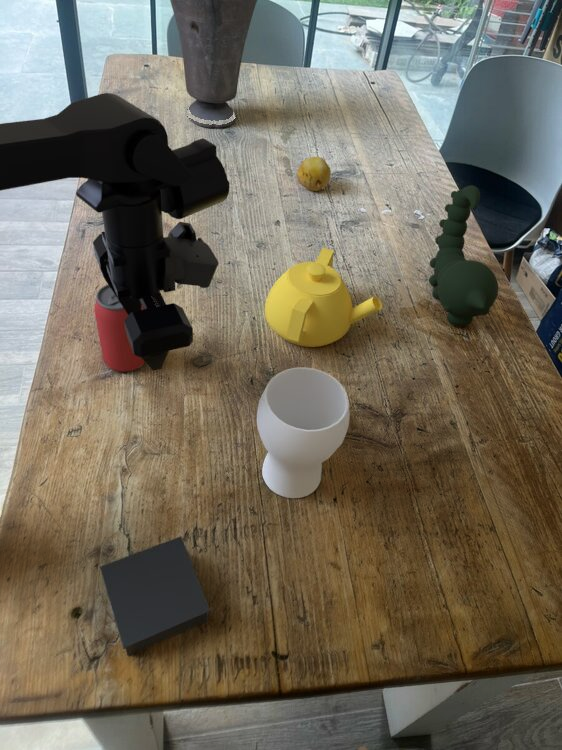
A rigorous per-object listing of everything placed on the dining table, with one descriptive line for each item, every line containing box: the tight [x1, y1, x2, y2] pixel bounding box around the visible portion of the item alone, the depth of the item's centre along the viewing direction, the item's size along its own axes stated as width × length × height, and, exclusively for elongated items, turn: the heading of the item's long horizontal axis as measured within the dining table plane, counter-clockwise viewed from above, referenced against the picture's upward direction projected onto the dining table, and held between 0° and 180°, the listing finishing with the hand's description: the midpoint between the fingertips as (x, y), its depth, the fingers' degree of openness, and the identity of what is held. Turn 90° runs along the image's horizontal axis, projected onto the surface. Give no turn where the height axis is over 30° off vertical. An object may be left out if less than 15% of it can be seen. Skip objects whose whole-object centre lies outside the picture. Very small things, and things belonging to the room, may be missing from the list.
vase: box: [169, 0, 258, 129], centre depth 134 cm, size 22×22×30 cm
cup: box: [256, 366, 351, 499], centre depth 70 cm, size 11×11×15 cm
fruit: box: [296, 156, 332, 192], centre depth 124 cm, size 7×7×10 cm
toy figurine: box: [428, 185, 499, 328], centre depth 97 cm, size 9×19×25 cm
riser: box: [99, 535, 211, 657], centre depth 62 cm, size 9×9×3 cm
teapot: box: [264, 247, 383, 348], centre depth 92 cm, size 20×18×11 cm
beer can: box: [93, 284, 146, 372], centre depth 82 cm, size 7×7×12 cm
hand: (145, 342), depth 70 cm, fingers open, 9 cm apart
